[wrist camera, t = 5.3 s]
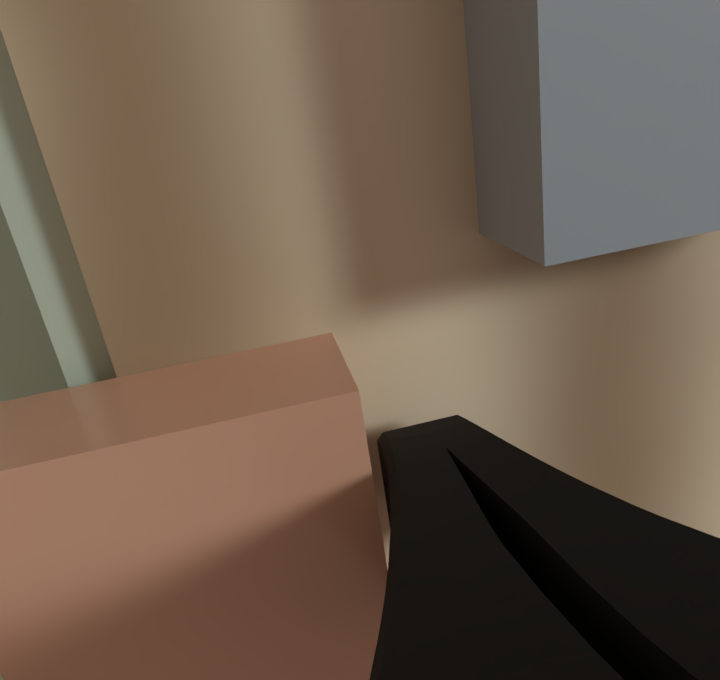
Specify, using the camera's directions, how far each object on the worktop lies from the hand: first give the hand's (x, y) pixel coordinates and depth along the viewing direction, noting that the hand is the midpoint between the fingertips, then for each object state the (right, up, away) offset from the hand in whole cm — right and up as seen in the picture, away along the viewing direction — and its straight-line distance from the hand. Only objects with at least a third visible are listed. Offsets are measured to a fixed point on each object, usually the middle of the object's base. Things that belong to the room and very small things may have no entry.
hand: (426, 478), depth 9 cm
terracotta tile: (-3, -1, 0) cm, 4 cm away
